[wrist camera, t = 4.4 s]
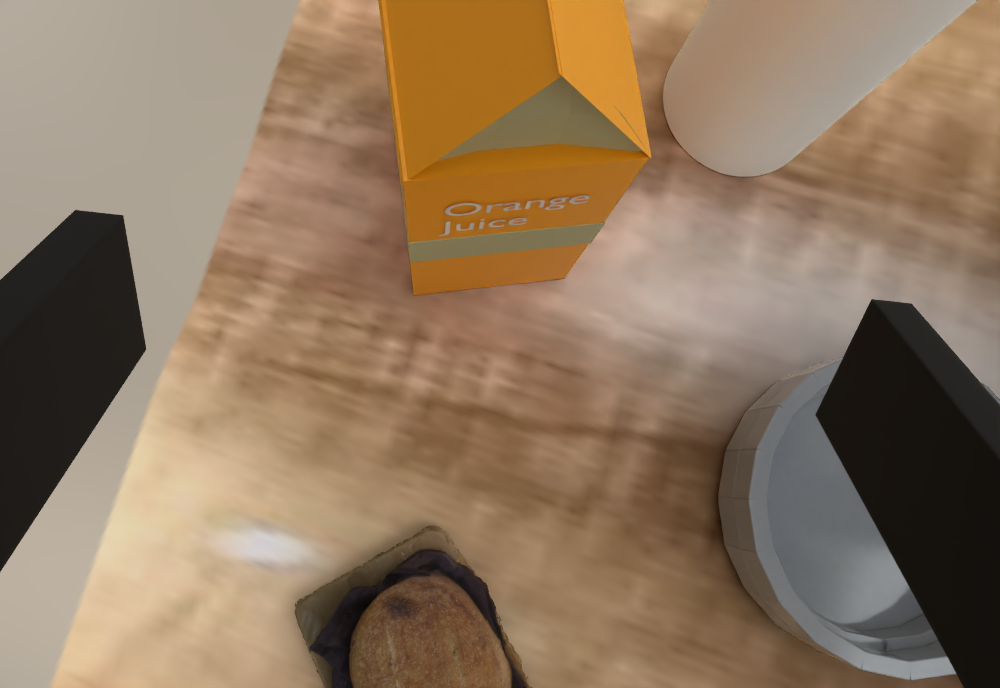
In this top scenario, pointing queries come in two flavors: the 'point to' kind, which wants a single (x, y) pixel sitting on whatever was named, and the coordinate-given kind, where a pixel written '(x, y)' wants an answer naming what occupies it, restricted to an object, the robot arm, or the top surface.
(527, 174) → the orange juice
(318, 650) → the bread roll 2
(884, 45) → the cup
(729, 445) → the pan
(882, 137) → the top surface
